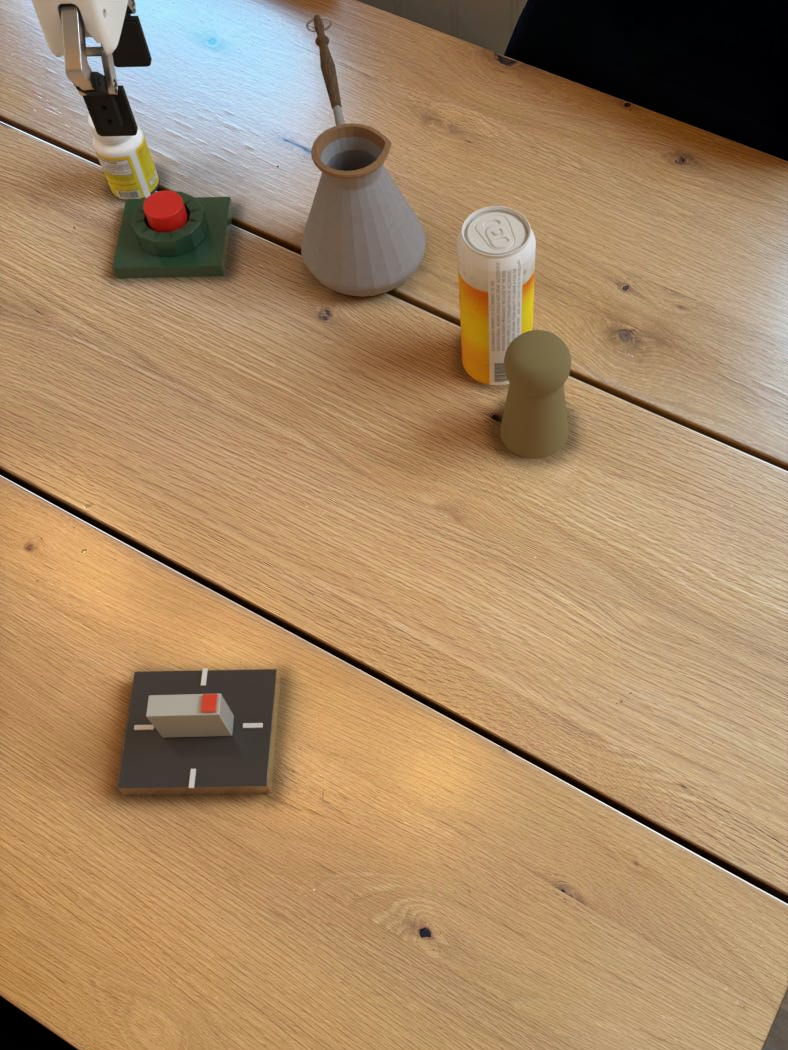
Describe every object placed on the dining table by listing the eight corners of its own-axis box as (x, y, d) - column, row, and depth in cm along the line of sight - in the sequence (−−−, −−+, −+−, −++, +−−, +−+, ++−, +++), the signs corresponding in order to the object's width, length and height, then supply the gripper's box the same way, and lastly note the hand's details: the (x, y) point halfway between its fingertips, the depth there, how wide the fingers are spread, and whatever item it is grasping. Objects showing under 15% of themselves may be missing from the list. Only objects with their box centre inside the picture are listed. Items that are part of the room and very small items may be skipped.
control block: (119, 286, 98) (105, 252, 95) (133, 217, 102) (119, 182, 99) (226, 283, 98) (216, 250, 94) (235, 215, 102) (226, 180, 98)
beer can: (515, 331, 95) (518, 193, 81) (541, 380, 92) (548, 246, 79) (452, 350, 94) (444, 214, 80) (477, 400, 91) (473, 268, 78)
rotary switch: (127, 800, 75) (115, 788, 73) (144, 684, 80) (133, 669, 77) (273, 798, 75) (266, 786, 73) (283, 681, 80) (276, 666, 77)
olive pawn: (557, 474, 88) (564, 387, 78) (488, 456, 89) (487, 367, 79) (578, 419, 90) (587, 327, 80) (511, 402, 91) (512, 309, 81)
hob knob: (162, 738, 75) (144, 715, 71) (165, 717, 76) (147, 693, 72) (232, 736, 75) (218, 713, 71) (234, 715, 76) (220, 691, 72)
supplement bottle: (146, 168, 105) (118, 91, 98) (171, 193, 104) (145, 117, 96) (104, 190, 104) (73, 114, 96) (129, 216, 102) (99, 140, 95)
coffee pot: (439, 300, 97) (429, 160, 83) (316, 323, 96) (286, 185, 82) (395, 147, 106) (380, -1, 93) (282, 166, 105) (251, 19, 92)
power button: (146, 234, 96) (140, 218, 95) (151, 206, 98) (145, 190, 96) (185, 233, 96) (180, 217, 94) (189, 205, 98) (184, 189, 96)
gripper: (11, -209, 74) (96, 32, 90) (-42, -62, 66) (62, 173, 82) (117, -212, 74) (184, 30, 90) (77, -65, 66) (158, 171, 82)
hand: (125, 97), depth 86 cm, fingers open, 7 cm apart
